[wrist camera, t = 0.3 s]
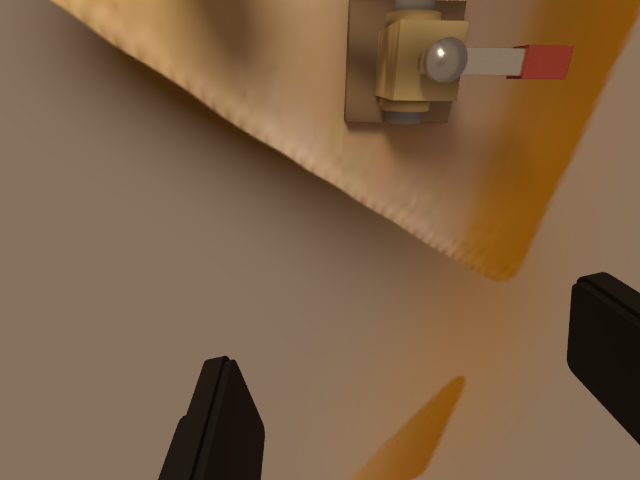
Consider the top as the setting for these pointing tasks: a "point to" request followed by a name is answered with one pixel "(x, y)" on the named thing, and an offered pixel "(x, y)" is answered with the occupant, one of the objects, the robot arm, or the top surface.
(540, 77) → the valve lever
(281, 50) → the top surface
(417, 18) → the valve
